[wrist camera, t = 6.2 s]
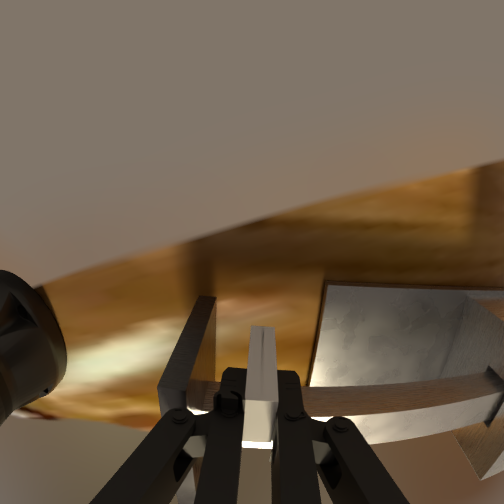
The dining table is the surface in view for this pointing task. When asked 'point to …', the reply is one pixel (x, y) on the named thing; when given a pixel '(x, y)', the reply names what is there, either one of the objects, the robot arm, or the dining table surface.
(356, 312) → the block
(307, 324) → the dining table surface
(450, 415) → the grey crossbar bracket
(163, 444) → the robot arm
